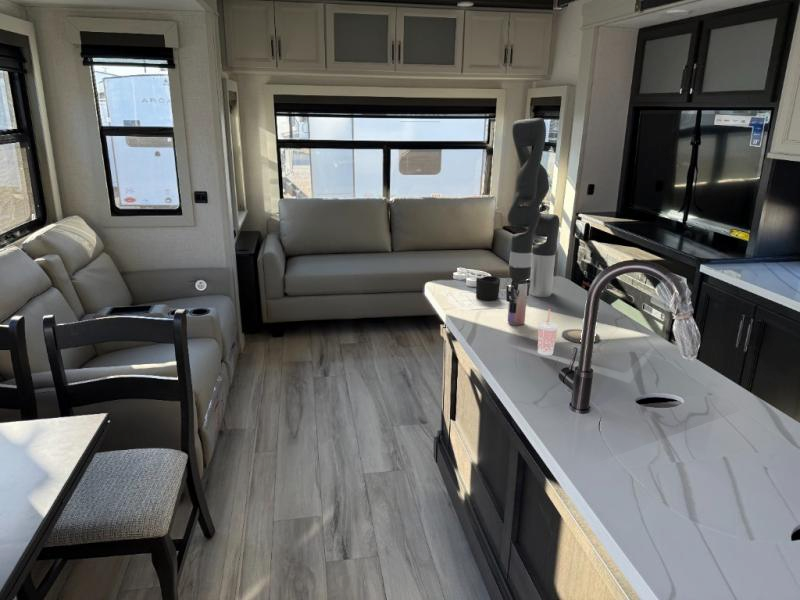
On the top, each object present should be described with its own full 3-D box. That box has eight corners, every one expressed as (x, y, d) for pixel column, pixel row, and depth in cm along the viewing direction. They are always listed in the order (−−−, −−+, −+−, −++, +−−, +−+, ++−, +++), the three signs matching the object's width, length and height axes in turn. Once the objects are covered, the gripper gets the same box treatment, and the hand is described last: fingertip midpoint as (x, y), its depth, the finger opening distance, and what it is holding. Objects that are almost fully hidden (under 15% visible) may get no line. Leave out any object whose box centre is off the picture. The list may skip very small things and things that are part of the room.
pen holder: (475, 298, 231) (476, 275, 228) (498, 300, 229) (499, 276, 227) (475, 305, 222) (476, 280, 219) (498, 306, 220) (500, 281, 218)
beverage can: (505, 324, 197) (508, 283, 193) (509, 319, 203) (512, 279, 198) (522, 326, 195) (526, 284, 191) (525, 321, 201) (529, 281, 196)
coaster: (570, 329, 195) (570, 326, 195) (604, 336, 188) (604, 334, 187) (556, 337, 186) (556, 335, 185) (591, 346, 179) (592, 343, 178)
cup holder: (448, 284, 254) (449, 268, 252) (469, 282, 259) (470, 266, 257) (472, 295, 237) (473, 278, 235) (494, 292, 241) (495, 276, 239)
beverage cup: (559, 352, 173) (563, 309, 169) (549, 357, 168) (553, 313, 165) (541, 347, 177) (545, 305, 173) (531, 352, 172) (535, 309, 169)
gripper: (519, 259, 201) (516, 304, 205) (500, 266, 190) (497, 313, 194) (539, 262, 196) (535, 308, 201) (520, 269, 185) (517, 317, 190)
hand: (516, 310), depth 198 cm, fingers closed on beverage can, 6 cm apart
